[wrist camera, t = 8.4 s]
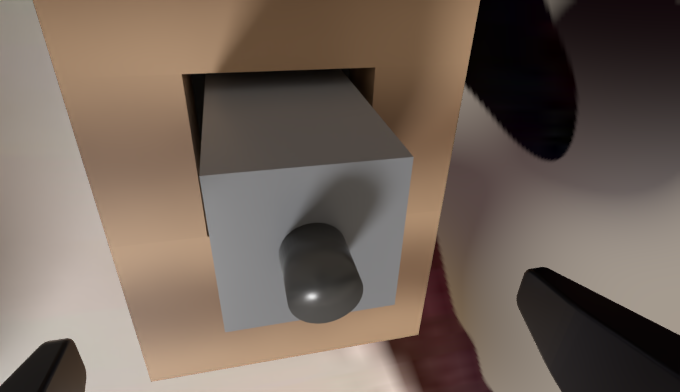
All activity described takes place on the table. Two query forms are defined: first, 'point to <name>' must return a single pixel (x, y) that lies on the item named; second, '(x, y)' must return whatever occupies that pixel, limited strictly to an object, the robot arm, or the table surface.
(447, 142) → the socket block
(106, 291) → the table surface
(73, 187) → the table surface
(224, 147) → the plug
